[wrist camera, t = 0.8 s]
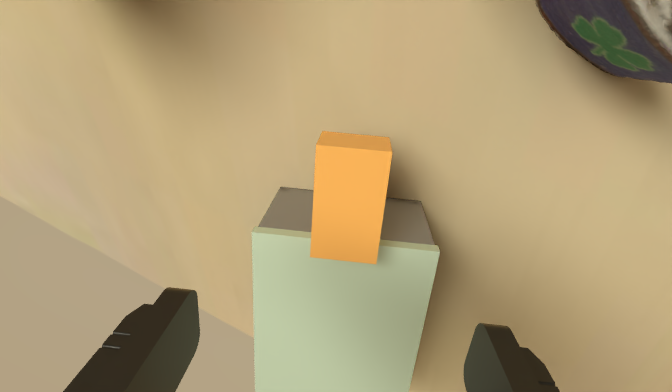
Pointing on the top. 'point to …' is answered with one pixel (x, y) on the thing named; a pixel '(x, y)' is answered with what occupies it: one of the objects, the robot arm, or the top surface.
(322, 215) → the lid
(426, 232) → the tub
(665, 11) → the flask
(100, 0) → the top surface
